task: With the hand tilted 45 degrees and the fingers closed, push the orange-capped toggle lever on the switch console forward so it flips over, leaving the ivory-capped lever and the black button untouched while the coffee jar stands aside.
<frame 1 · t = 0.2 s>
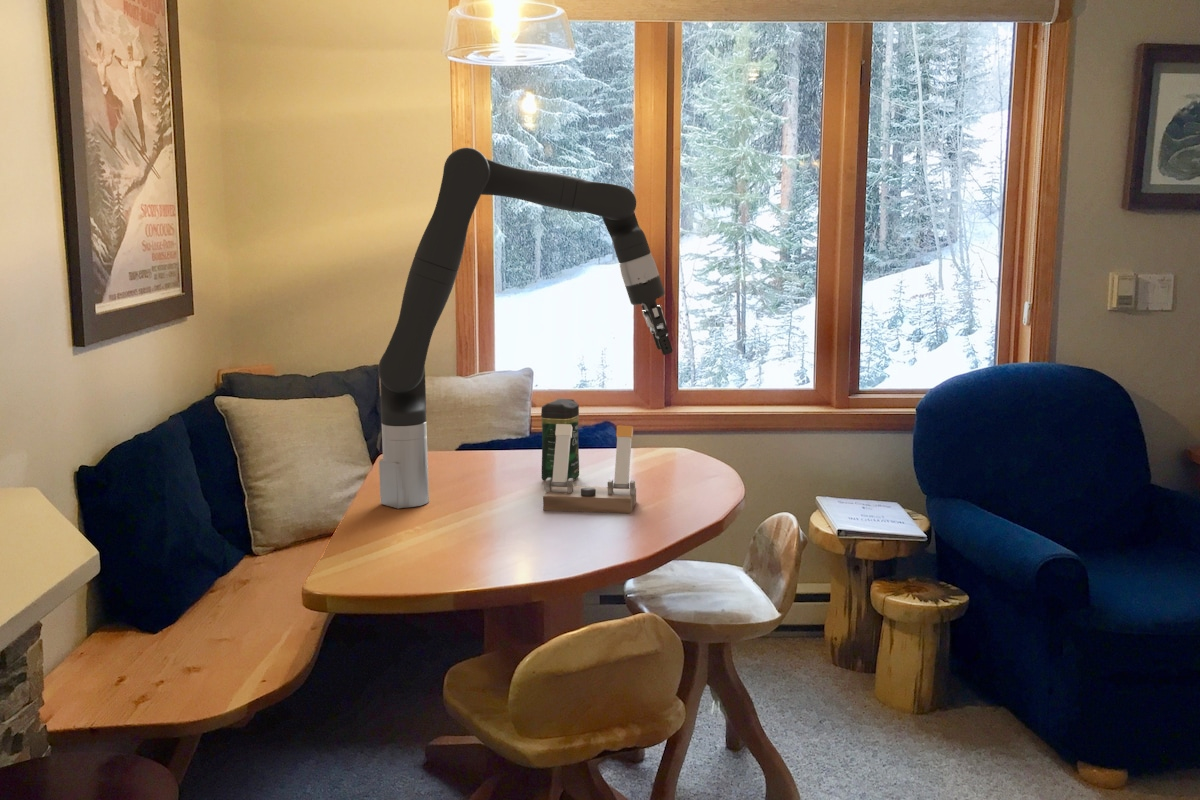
hand: (665, 350, 224), 31 cm above the table, tool tilted 20°, fingers open, 8 cm apart
console: (590, 506, 217), on the table
lever orange: (623, 457, 218), point 10 cm above the table, hinge at -29.8°
coffee jar: (561, 480, 240), on the table
lever ivory: (561, 455, 220), point 10 cm above the table, hinge at -29.8°
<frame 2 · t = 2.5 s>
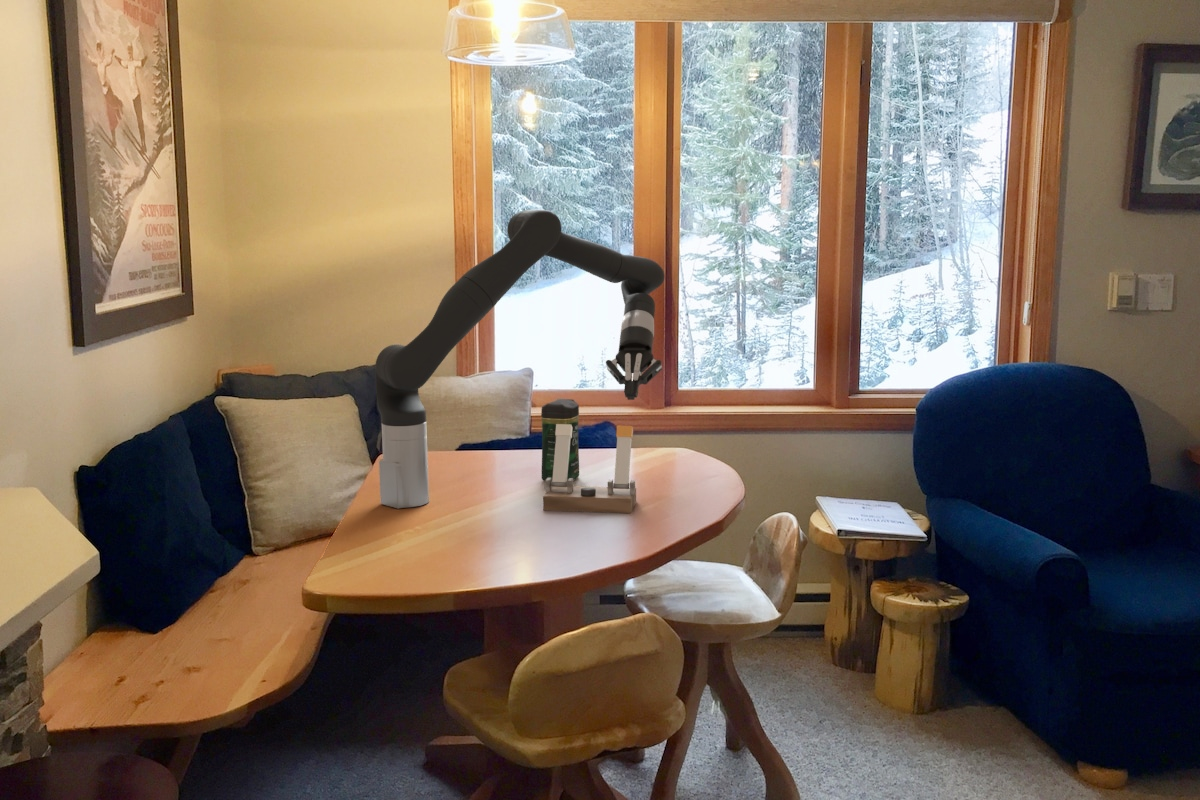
hand: (630, 397, 227), 20 cm above the table, tool tilted 45°, fingers closed
nothing on the table moved.
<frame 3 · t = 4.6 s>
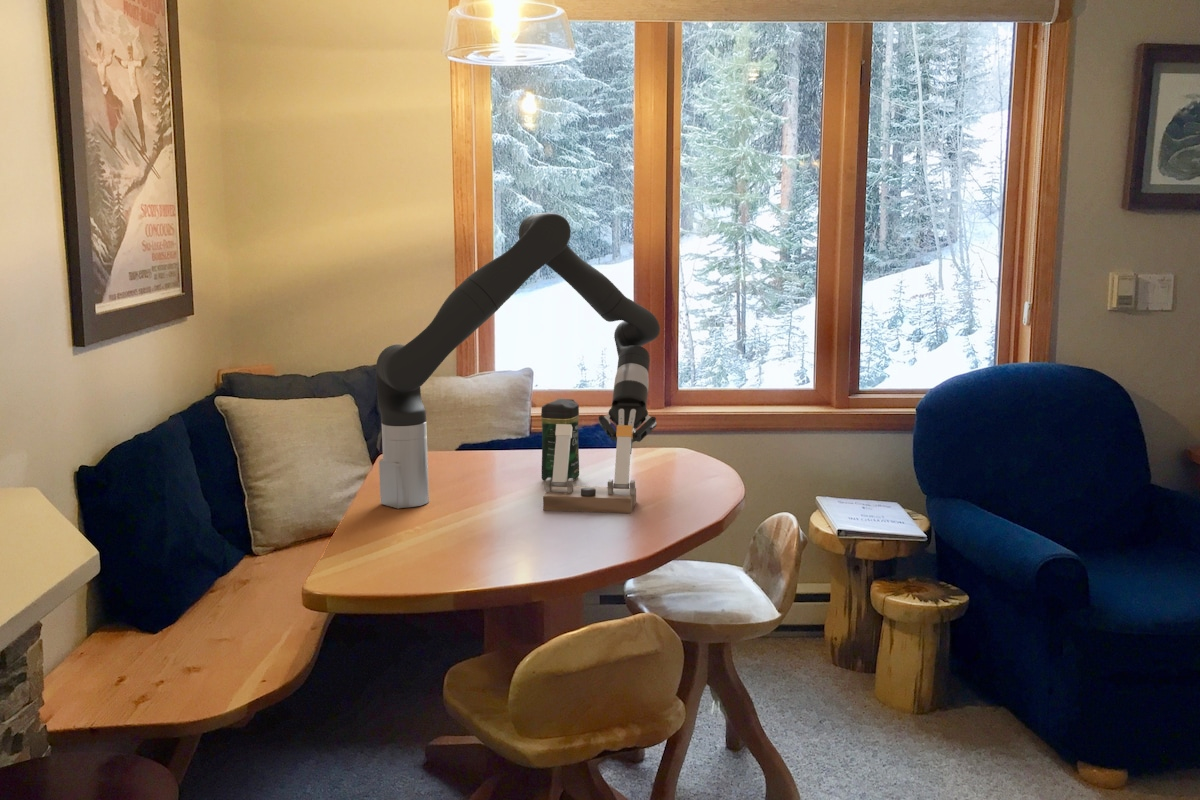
hand: (623, 455, 219), 10 cm above the table, tool tilted 45°, fingers closed
lever orange: (623, 457, 218), point 10 cm above the table, hinge at -29.0°, touching gripper
everything else where it was.
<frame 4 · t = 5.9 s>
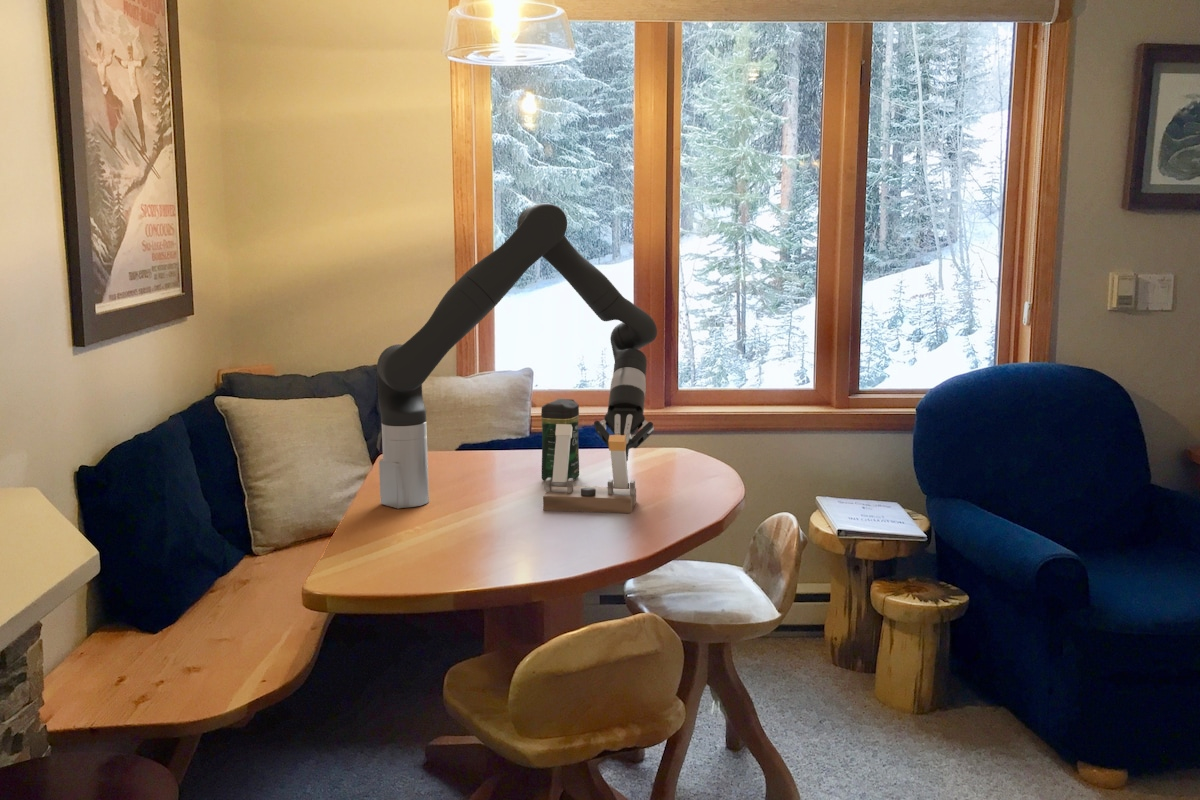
hand: (620, 462, 213), 10 cm above the table, tool tilted 45°, fingers closed
lever orange: (619, 463, 212), point 10 cm above the table, hinge at 29.0°, touching gripper
everything else where it was.
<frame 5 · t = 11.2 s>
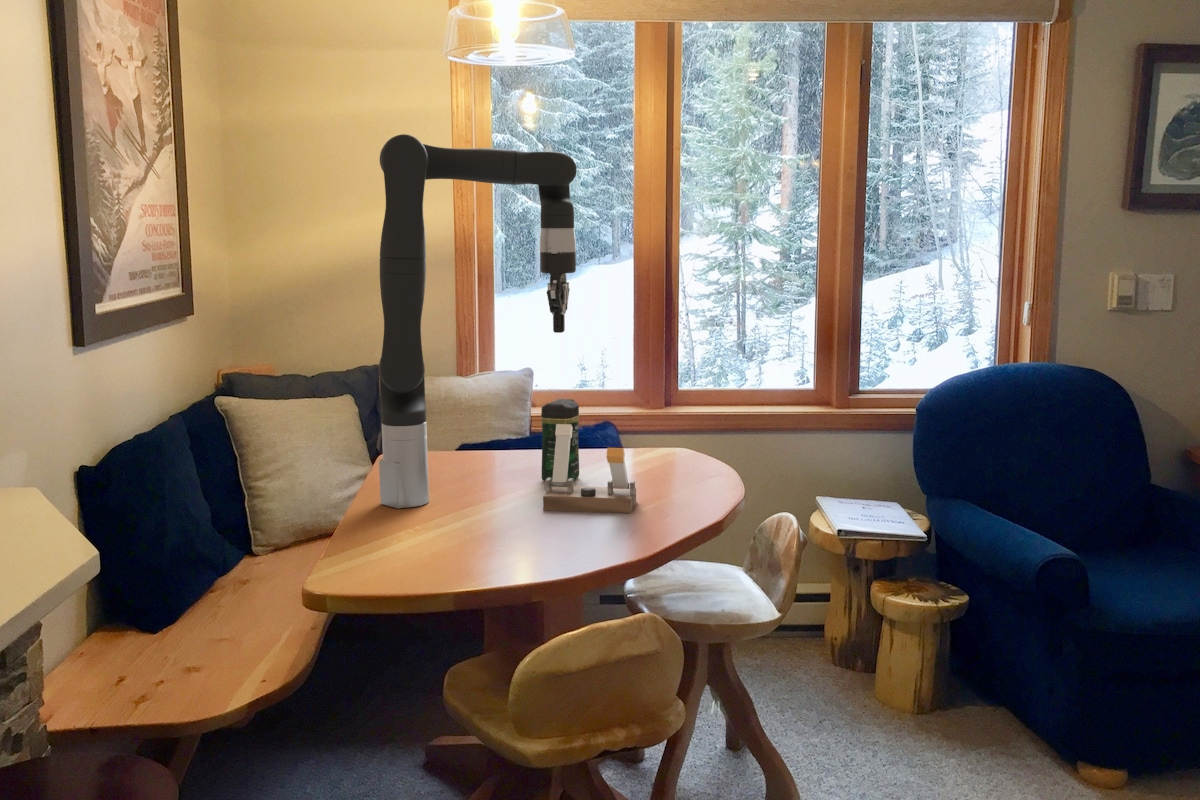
hand: (559, 332, 224), 35 cm above the table, tool pointing down, fingers closed
lever orange: (618, 470, 211), point 9 cm above the table, hinge at 45.1°
everything else where it was.
at the end: lever orange at +45° (first picture: -29°); lever ivory at -30° (first picture: -29°) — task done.
